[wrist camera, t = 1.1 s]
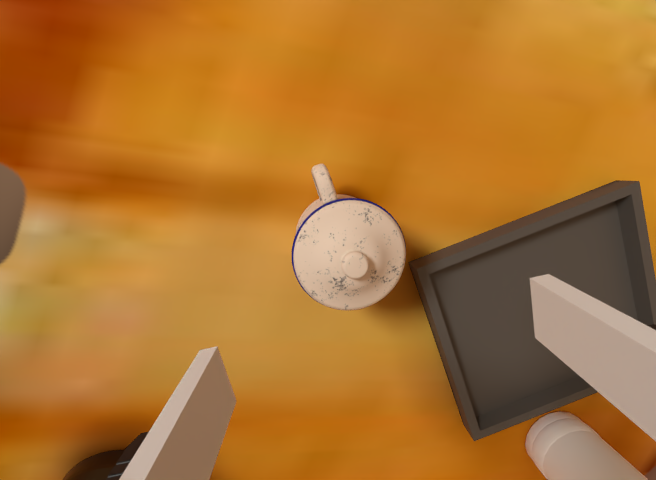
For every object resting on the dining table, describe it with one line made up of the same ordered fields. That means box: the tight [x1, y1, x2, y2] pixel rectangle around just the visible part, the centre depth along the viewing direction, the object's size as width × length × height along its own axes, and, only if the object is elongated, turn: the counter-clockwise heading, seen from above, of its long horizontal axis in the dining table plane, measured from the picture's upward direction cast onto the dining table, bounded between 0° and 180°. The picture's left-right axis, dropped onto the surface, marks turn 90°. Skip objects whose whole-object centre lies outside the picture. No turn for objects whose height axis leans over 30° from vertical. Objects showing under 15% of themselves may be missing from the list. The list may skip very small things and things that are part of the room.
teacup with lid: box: [292, 164, 406, 310], centre depth 29 cm, size 12×9×12 cm
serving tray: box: [409, 181, 656, 441], centre depth 38 cm, size 24×22×2 cm
